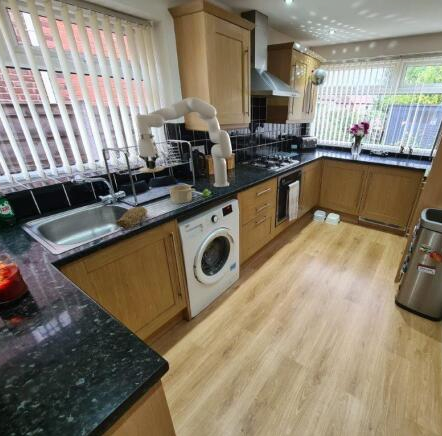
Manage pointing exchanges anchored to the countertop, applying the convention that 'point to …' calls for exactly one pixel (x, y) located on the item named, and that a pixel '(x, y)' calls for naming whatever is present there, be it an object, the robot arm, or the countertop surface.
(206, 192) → the grapes
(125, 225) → the brown hedgehog
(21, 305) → the countertop surface
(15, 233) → the countertop surface
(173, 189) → the pot
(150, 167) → the lid
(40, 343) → the countertop surface
